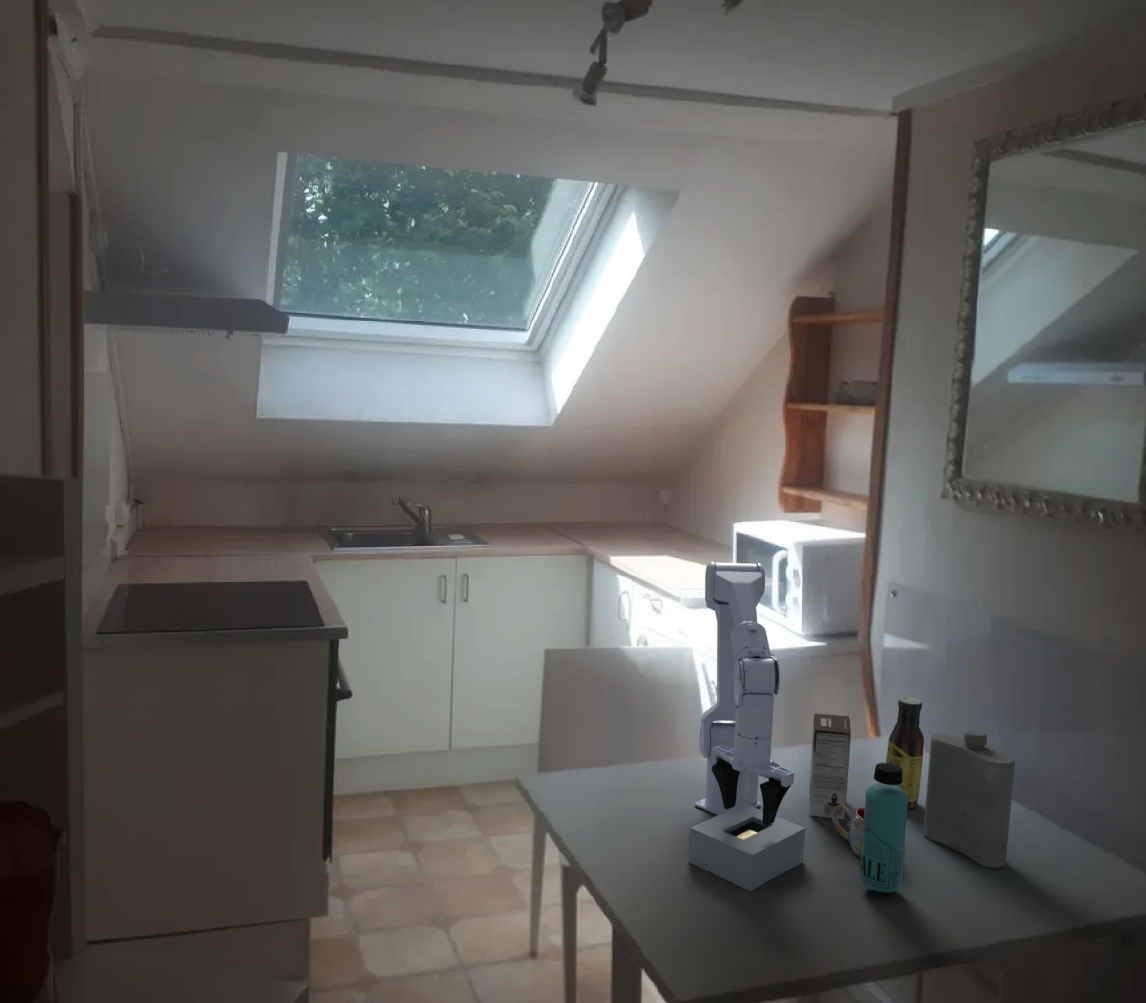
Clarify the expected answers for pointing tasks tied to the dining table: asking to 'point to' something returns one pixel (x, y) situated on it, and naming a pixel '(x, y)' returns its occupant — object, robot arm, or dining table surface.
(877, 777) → the beverage bottle
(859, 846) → the mug
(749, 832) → the brass block
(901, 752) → the sauce bottle
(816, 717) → the coffee box
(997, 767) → the flask
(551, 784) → the dining table surface
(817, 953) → the dining table surface
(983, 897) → the dining table surface
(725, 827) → the grey block with hole
